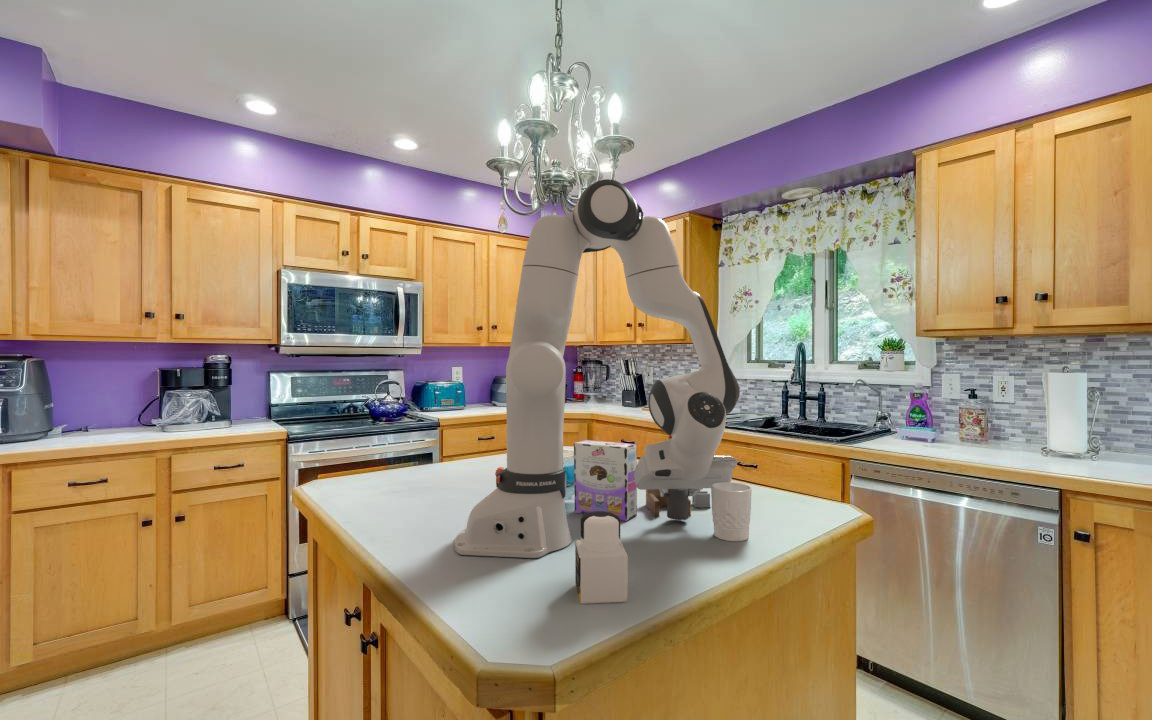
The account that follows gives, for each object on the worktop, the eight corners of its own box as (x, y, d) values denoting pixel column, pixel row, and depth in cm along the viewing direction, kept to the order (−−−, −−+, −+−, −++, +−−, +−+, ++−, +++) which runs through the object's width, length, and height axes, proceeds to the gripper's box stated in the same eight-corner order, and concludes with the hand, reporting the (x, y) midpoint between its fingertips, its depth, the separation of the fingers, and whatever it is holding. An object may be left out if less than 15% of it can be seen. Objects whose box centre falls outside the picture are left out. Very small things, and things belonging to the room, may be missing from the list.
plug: (670, 520, 114) (669, 476, 114) (664, 513, 119) (664, 471, 119) (691, 519, 115) (690, 475, 115) (685, 513, 119) (685, 471, 119)
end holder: (655, 516, 121) (654, 494, 120) (645, 504, 130) (645, 484, 130) (690, 516, 121) (690, 493, 121) (678, 504, 131) (678, 483, 131)
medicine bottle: (575, 584, 85) (575, 508, 85) (619, 582, 85) (619, 507, 85) (579, 604, 78) (579, 522, 77) (627, 602, 78) (627, 521, 78)
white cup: (754, 544, 103) (754, 492, 103) (711, 541, 104) (711, 490, 104) (749, 531, 111) (749, 482, 111) (710, 528, 112) (710, 481, 112)
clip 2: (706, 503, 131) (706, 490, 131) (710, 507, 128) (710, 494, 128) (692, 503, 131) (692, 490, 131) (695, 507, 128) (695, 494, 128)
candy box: (638, 515, 121) (638, 443, 121) (626, 522, 117) (626, 447, 116) (586, 506, 129) (586, 438, 129) (573, 512, 124) (573, 441, 124)
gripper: (735, 444, 111) (719, 480, 120) (638, 445, 109) (629, 482, 119) (744, 470, 106) (726, 505, 116) (642, 471, 105) (633, 507, 115)
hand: (676, 493), depth 117 cm, fingers closed on plug, 5 cm apart
